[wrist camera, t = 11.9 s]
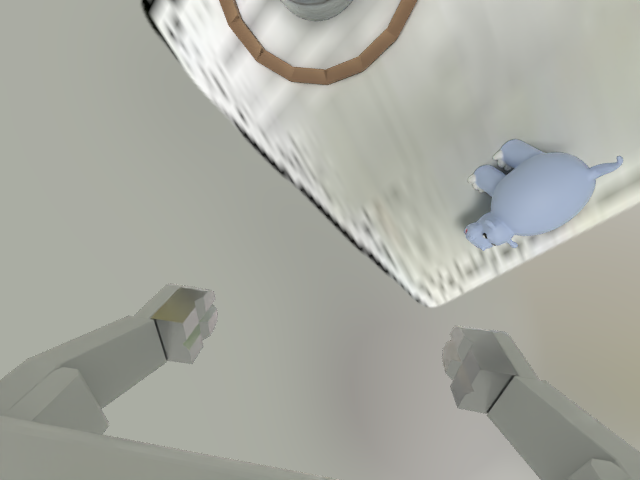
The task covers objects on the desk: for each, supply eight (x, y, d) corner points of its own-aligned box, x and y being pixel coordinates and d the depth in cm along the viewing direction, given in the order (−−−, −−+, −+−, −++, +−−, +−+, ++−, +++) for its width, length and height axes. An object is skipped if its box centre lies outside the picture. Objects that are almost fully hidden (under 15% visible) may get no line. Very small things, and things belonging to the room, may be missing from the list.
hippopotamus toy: (434, 207, 38) (456, 236, 30) (530, 118, 32) (593, 123, 23) (483, 248, 40) (516, 286, 32) (582, 173, 34) (657, 195, 25)
